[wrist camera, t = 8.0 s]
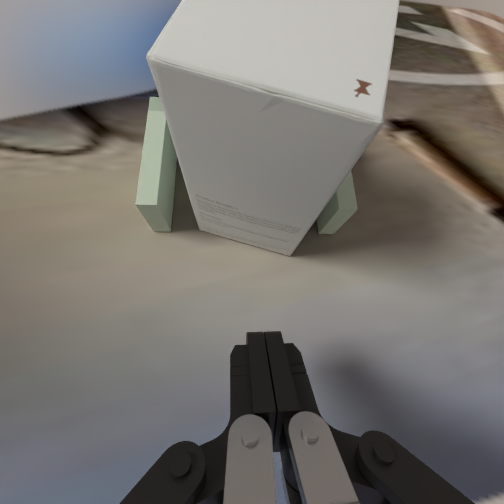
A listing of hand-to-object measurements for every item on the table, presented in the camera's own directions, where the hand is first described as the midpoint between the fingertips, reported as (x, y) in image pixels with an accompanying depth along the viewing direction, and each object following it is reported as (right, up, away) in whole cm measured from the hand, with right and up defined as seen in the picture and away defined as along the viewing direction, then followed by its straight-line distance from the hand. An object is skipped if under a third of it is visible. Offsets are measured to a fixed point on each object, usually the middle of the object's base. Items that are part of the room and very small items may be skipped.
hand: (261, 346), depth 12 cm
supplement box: (0, +8, +9) cm, 12 cm away
